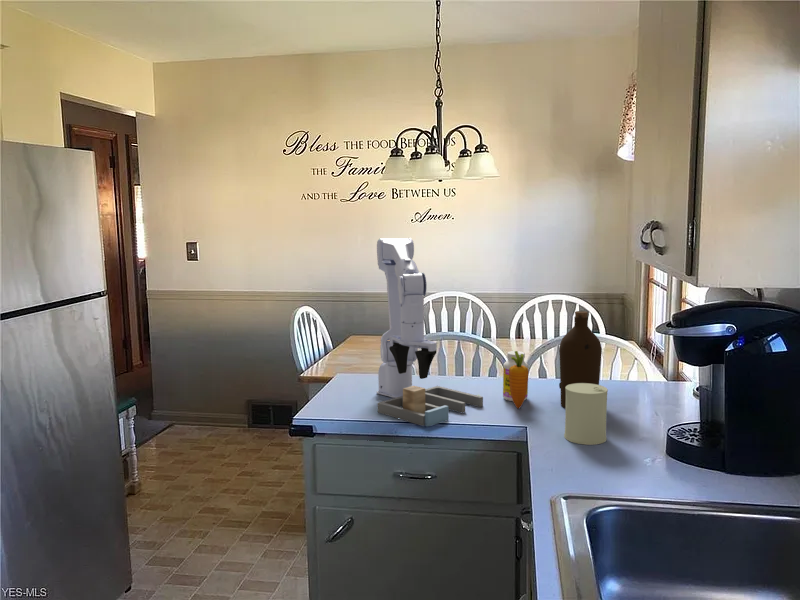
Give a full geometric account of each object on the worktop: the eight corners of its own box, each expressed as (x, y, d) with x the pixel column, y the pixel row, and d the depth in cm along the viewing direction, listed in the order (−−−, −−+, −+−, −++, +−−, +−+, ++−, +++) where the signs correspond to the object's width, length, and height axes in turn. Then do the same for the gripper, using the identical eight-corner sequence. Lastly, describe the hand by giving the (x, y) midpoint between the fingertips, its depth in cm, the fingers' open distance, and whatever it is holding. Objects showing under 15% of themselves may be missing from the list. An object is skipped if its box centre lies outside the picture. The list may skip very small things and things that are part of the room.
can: (600, 447, 142) (601, 393, 140) (558, 440, 147) (559, 388, 145) (611, 435, 150) (612, 384, 148) (571, 428, 155) (572, 379, 153)
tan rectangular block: (403, 415, 166) (402, 388, 165) (414, 412, 169) (413, 385, 168) (414, 418, 163) (414, 391, 162) (425, 415, 166) (425, 388, 165)
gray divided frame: (377, 412, 169) (377, 398, 169) (437, 394, 185) (437, 382, 184) (426, 427, 157) (426, 413, 156) (486, 407, 172) (486, 394, 172)
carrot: (527, 411, 168) (528, 354, 166) (508, 410, 169) (508, 353, 167) (528, 406, 173) (528, 350, 171) (508, 405, 174) (509, 349, 172)
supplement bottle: (500, 400, 178) (500, 354, 176) (506, 394, 184) (506, 349, 183) (525, 403, 176) (525, 356, 174) (529, 396, 182) (530, 351, 180)
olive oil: (608, 407, 171) (611, 312, 168) (580, 414, 165) (583, 316, 162) (577, 398, 180) (579, 307, 177) (549, 404, 174) (551, 311, 171)
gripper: (380, 320, 165) (381, 373, 167) (422, 327, 155) (422, 383, 157) (400, 317, 170) (401, 368, 172) (442, 323, 160) (442, 378, 161)
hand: (412, 375), depth 164 cm, fingers open, 7 cm apart
